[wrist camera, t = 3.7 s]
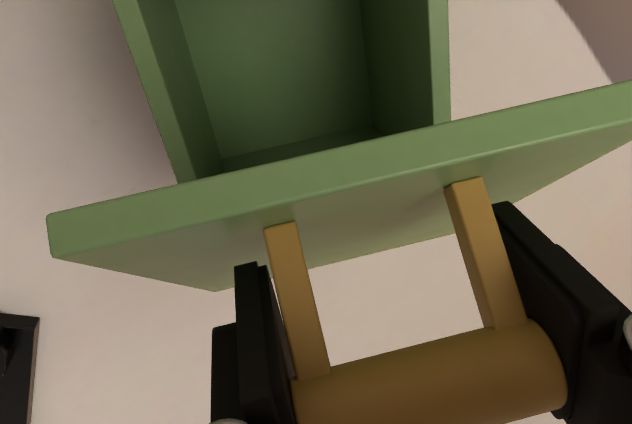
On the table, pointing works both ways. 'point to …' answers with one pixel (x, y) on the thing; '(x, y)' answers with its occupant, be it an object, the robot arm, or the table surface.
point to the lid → (374, 251)
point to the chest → (285, 75)
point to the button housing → (17, 367)
